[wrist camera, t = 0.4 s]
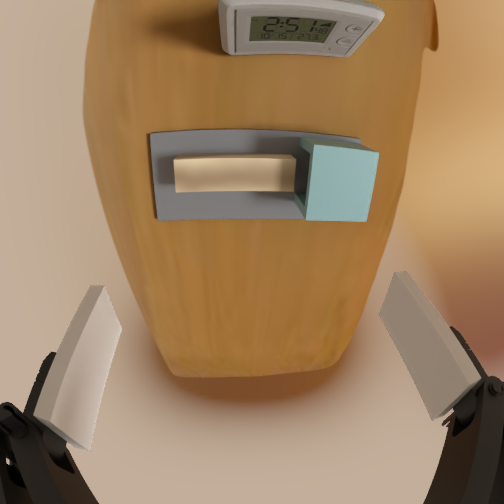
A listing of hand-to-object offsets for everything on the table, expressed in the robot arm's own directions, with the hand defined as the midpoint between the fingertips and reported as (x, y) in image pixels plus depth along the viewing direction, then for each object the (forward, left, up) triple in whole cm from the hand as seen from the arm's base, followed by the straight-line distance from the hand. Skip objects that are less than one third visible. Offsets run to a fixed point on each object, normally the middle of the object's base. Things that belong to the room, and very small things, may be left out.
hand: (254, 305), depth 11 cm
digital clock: (-18, +6, -26) cm, 32 cm away
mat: (+1, +3, -25) cm, 26 cm away
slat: (0, 0, -25) cm, 25 cm away
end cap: (0, +12, -25) cm, 27 cm away
